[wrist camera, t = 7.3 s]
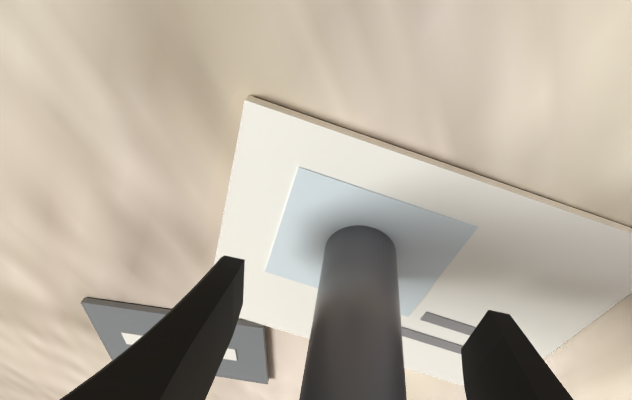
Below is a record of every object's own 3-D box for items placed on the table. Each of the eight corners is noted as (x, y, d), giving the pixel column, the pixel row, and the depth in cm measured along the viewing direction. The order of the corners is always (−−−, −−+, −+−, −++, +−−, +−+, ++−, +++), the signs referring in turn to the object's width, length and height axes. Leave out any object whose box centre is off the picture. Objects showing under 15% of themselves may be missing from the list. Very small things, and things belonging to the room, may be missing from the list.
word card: (264, 322, 16) (262, 329, 16) (268, 378, 19) (267, 385, 19) (84, 297, 17) (79, 303, 17) (115, 354, 20) (111, 360, 20)
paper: (676, 243, 11) (687, 253, 11) (491, 386, 17) (494, 396, 17) (249, 95, 10) (244, 100, 10) (209, 300, 16) (205, 308, 16)
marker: (413, 256, 12) (446, 518, 7) (358, 288, 14) (346, 530, 8) (361, 211, 11) (348, 465, 6) (308, 249, 13) (255, 488, 7)
